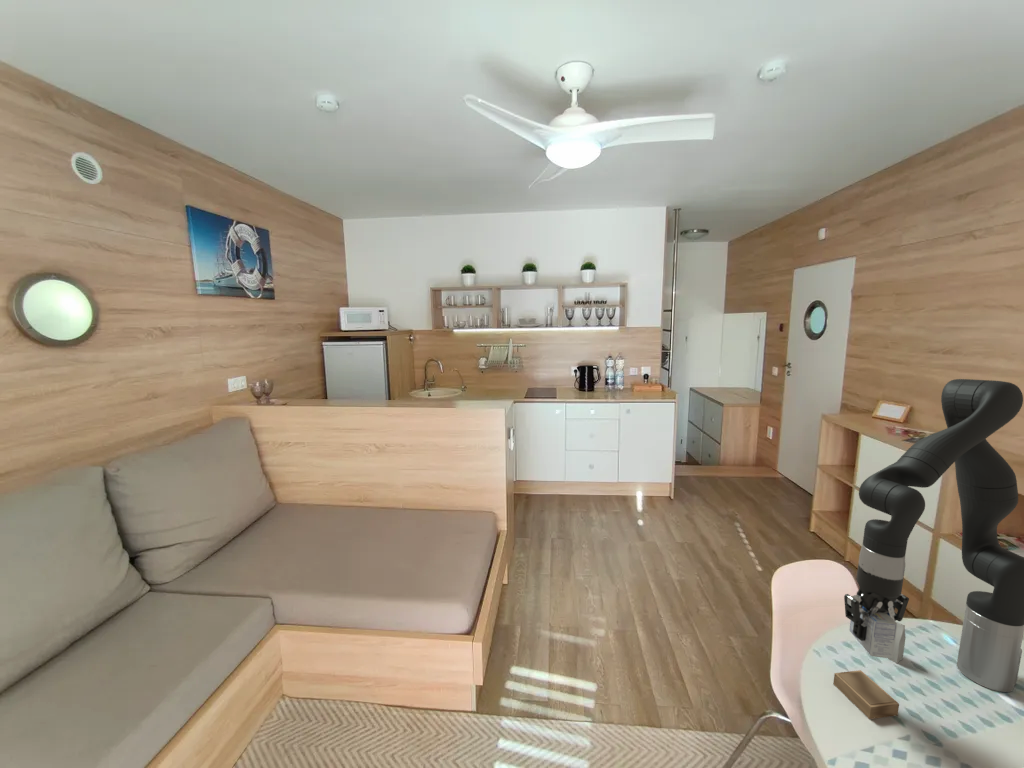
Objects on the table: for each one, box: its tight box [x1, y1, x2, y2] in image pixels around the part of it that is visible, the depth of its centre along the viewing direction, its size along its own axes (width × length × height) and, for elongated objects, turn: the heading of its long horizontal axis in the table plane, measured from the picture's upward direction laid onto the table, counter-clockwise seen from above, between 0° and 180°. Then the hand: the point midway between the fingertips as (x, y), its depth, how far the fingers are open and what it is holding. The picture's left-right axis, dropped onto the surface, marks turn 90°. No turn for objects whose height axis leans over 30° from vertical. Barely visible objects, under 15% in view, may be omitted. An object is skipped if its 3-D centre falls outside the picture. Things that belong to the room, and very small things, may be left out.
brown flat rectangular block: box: [832, 669, 900, 720], centre depth 95 cm, size 7×9×3 cm
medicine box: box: [849, 607, 897, 659], centre depth 92 cm, size 8×4×9 cm, turn 168°
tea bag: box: [887, 620, 906, 664], centre depth 108 cm, size 4×7×10 cm, turn 28°
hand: (870, 636), depth 93 cm, fingers closed on medicine box, 5 cm apart
